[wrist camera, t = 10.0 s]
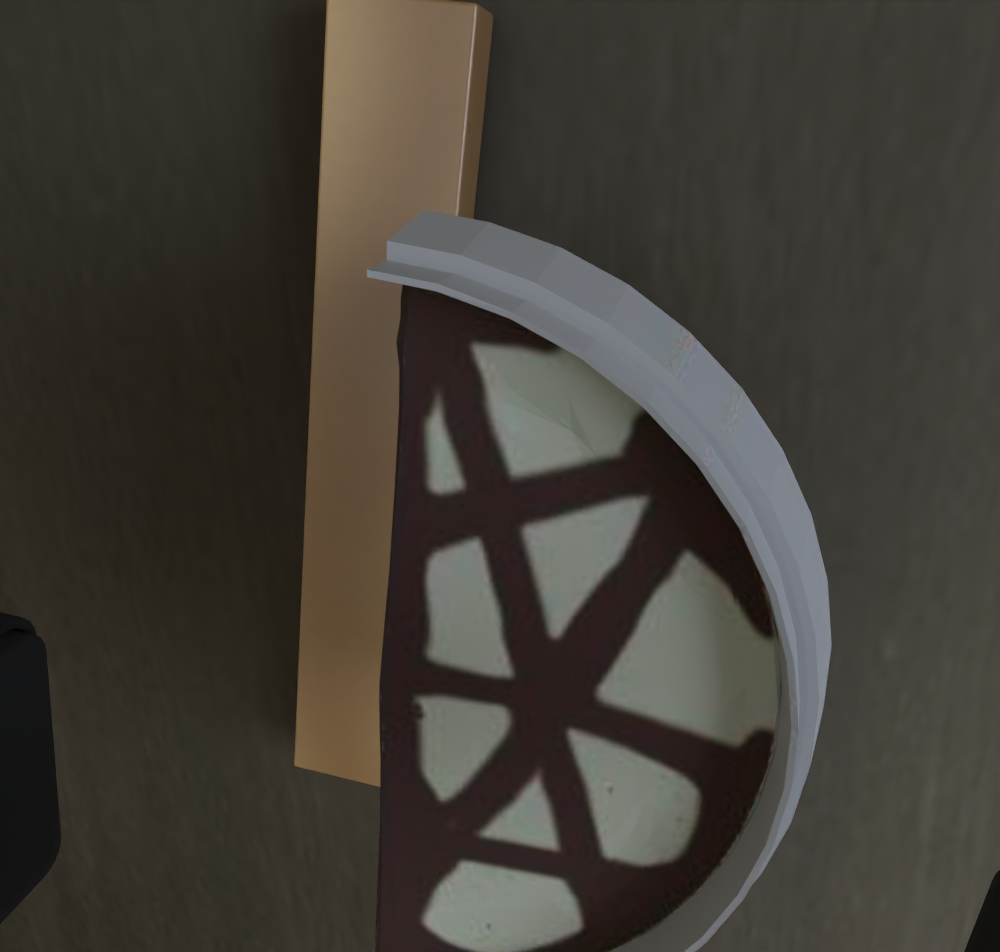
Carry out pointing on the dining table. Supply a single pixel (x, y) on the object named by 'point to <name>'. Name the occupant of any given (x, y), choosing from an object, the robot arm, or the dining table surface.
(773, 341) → the dining table surface
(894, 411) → the dining table surface
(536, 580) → the food container
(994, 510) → the dining table surface
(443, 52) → the strip
